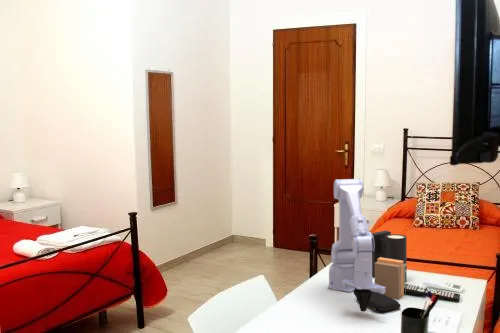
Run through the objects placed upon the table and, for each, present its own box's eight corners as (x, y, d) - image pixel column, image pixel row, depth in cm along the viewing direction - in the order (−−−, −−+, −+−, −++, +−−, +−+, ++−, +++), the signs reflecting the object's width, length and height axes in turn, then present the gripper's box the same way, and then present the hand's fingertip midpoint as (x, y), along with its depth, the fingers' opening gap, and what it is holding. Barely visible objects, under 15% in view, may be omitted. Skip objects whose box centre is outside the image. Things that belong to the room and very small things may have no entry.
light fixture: (395, 285, 200) (394, 240, 198) (369, 276, 211) (369, 233, 210) (412, 280, 205) (412, 236, 203) (386, 272, 216) (386, 230, 215)
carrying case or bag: (351, 302, 184) (377, 316, 171) (351, 294, 184) (377, 307, 171) (375, 297, 189) (403, 310, 175) (375, 289, 188) (403, 301, 175)
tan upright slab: (398, 299, 184) (398, 264, 183) (374, 294, 190) (374, 260, 189) (406, 293, 191) (406, 258, 189) (383, 288, 196) (383, 255, 195)
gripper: (337, 270, 172) (338, 309, 173) (379, 277, 163) (379, 319, 164) (347, 265, 177) (348, 303, 179) (387, 271, 168) (388, 312, 170)
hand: (363, 310), depth 172 cm, fingers closed
